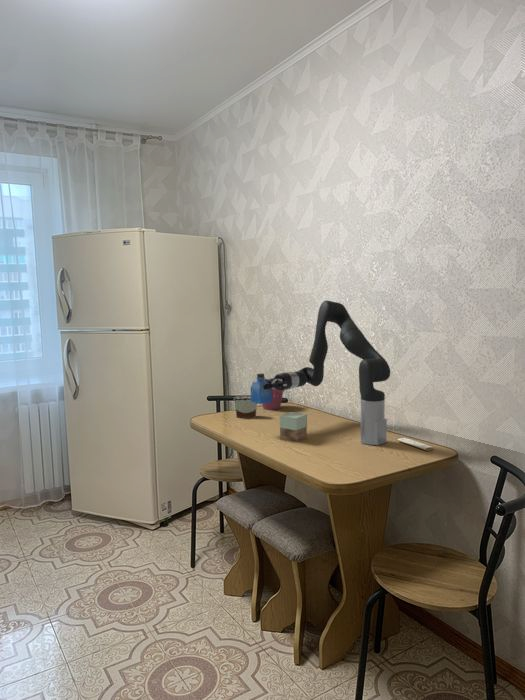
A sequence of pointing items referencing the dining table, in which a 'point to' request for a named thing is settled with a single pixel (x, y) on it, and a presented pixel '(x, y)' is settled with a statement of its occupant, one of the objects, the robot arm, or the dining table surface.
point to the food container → (245, 406)
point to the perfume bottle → (260, 391)
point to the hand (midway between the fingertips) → (258, 386)
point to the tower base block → (293, 434)
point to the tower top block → (293, 421)
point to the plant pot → (274, 400)
